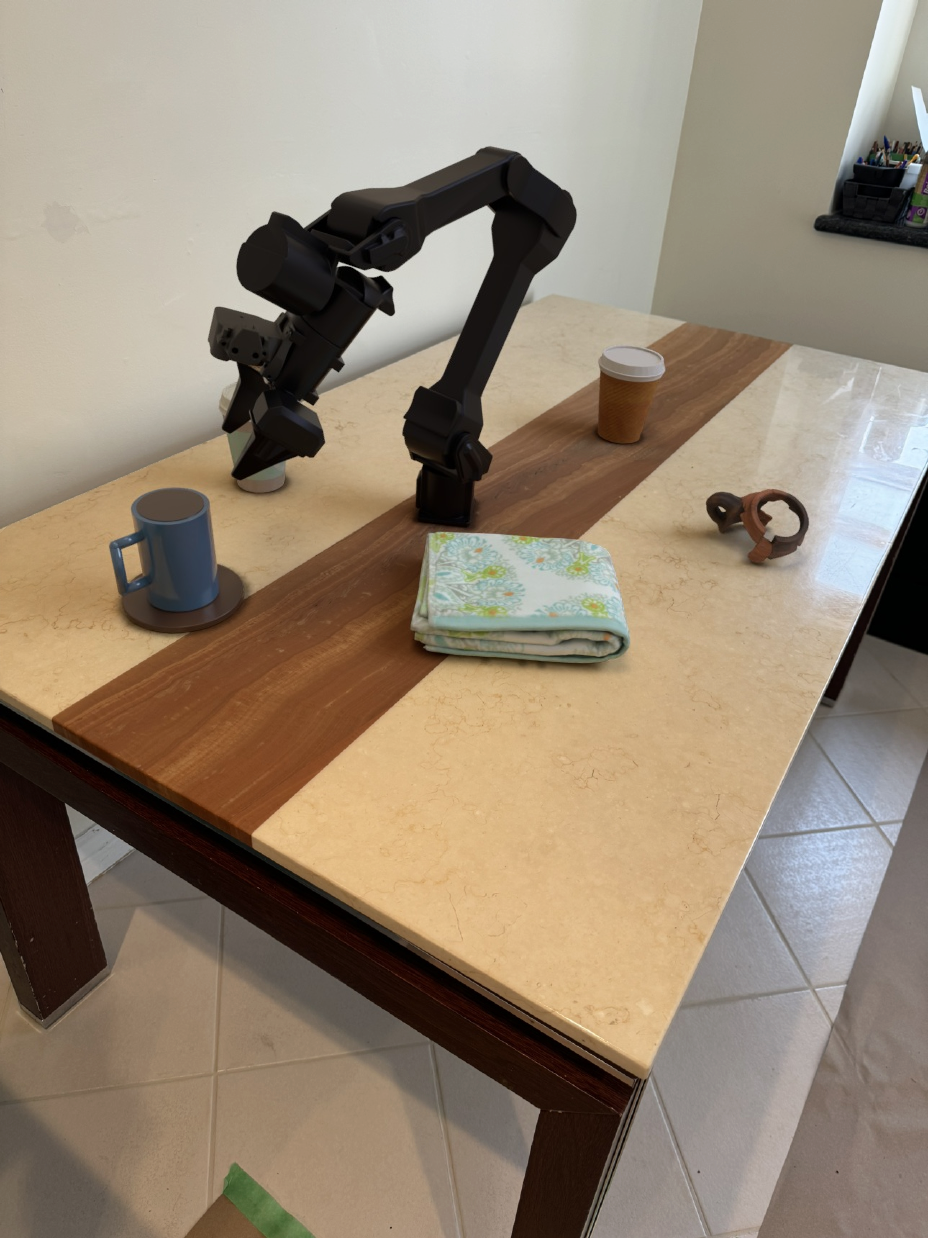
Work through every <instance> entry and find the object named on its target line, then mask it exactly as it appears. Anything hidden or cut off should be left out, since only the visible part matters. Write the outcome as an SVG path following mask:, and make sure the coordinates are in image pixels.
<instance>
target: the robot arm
mask: <svg viewBox="0 0 928 1238" xmlns="http://www.w3.org/2000/svg"><path fill="white" fill-rule="evenodd" d="M572 196H573V195H571V193H570V192H569V191H568V190H566V189H563V188H561V186H559V184H557V183H556V182H554V181H553V180H551V179H550V178H548V177H547V176H546V175H545V174H543V173H542V172H540V171H539V170H537V168H535V167H534V166H533V165H532V164H531V162H530V161H529V160H528V159H527V157H525V156H523V154H522V153H520V152H518V151H515V150H510V149H507V148H506V149H505V148H501V147H497V146H493V145H492V146H491V145H488V146H485V147H480V148H479V149H478V150H477V151H476V152H475V153H474V154H472V155H470V156H469V157H466V158H463V159H461V160H459V161H457V162H454V163H453V164H450V165H448V166H445V167H442V168H440V169H439V170H437V171H434V172H431V173H429V174H427V175H424V176H423V177H420V178H418V179H416V180H413V181H411V182H409V183H406V184H404V185H401V186H396V187H368V188H362V189H356V190H350V191H349V190H348V191H345V192H342V193H340V194H339V195H337V196H335V198H334V199H333V200H332V201H331V203H330V208H329V209H328V210H327V211H325V212H324V213H323V214H321V215H320V216H318V217H317V218H316V219H314V220H313V221H311V222H310V223H309V224H307V225H306V226H305V227H303V225H302V224H300V222H299V221H297V220H296V219H295V218H294V217H292V216H291V215H288V214H285V213H282V212H278V211H276V210H275V211H271V214H270V215H269V219H268V222H267V223H265V224H263V225H261V226H259V227H258V228H256V229H255V230H253V231H252V232H251V234H250V235H249V236H248V237H247V239H246V240H245V241H244V242H242V243H241V245H240V248H239V250H238V253H237V257H236V263H235V268H236V276H237V280H238V282H239V283H240V285H241V287H243V288H244V290H245V291H248V292H250V293H251V294H254V295H256V296H257V297H258V298H259V297H260V298H261V299H263V300H265V301H267V302H269V303H271V304H273V305H274V306H276V307H278V308H280V309H282V310H284V311H285V312H284V311H281V313H279V315H278V316H277V317H276V319H275V320H274V321H272V320H269V319H266V318H263V317H261V316H258V315H255V314H252V313H249V312H248V313H247V312H244V311H240V310H237V309H232V308H229V307H224V306H215V307H214V309H213V314H212V318H211V323H210V328H209V332H208V337H207V343H208V345H209V353H210V355H211V356H212V357H213V358H214V359H217V360H218V361H222V362H229V361H231V362H235V363H236V366H237V371H238V378H237V381H236V382H237V384H236V387H235V390H234V393H233V396H232V399H231V402H230V404H229V407H228V410H227V413H226V415H225V418H224V420H223V421H222V423H221V430H222V431H224V432H225V433H226V432H227V433H229V434H231V433H233V432H234V431H236V430H237V429H239V428H240V427H242V426H243V425H244V424H246V423H247V422H248V421H250V420H251V422H252V427H253V431H252V433H251V435H250V437H249V439H248V441H247V443H246V445H245V446H244V448H243V450H242V452H241V454H240V456H239V458H238V459H237V461H236V463H235V466H234V465H233V468H232V470H231V472H230V476H231V477H232V478H233V479H235V480H236V481H237V480H243V479H245V478H247V477H250V476H252V475H254V474H256V473H258V472H261V471H263V470H265V469H267V468H269V467H272V466H274V465H276V464H278V463H281V462H284V461H286V462H287V461H288V460H292V459H294V458H297V457H299V458H302V459H304V458H306V457H307V458H309V459H314V458H315V457H316V456H317V454H318V453H319V452H320V450H321V449H322V448H323V447H324V445H325V444H326V439H325V433H324V429H323V426H322V423H321V421H320V418H319V416H318V412H316V411H314V410H313V409H311V408H310V407H308V406H306V405H304V404H303V403H302V402H301V401H302V400H303V401H305V402H306V403H308V404H309V405H311V406H312V407H314V406H315V405H316V403H317V402H318V401H319V400H320V396H319V394H318V390H317V389H318V388H319V386H320V385H321V384H322V382H324V380H325V379H326V377H327V376H328V375H329V373H330V372H331V371H332V369H333V370H334V371H335V372H337V373H340V372H341V371H342V370H343V368H344V367H345V365H346V364H345V361H344V359H343V355H344V354H345V352H346V351H347V350H348V348H349V347H350V346H351V344H352V343H353V342H354V340H355V339H356V338H357V336H358V335H359V333H361V331H362V330H363V328H364V327H365V326H366V324H367V323H368V322H369V320H370V319H371V318H372V317H373V316H374V314H375V313H376V311H377V310H378V311H380V312H382V313H384V314H385V315H387V316H389V317H393V316H394V315H395V314H396V310H395V309H396V307H395V306H396V305H395V302H394V291H395V289H394V286H393V285H392V284H391V283H390V282H389V281H388V280H387V279H386V278H385V276H384V275H377V276H367V275H366V274H364V273H362V272H361V271H359V270H362V271H368V270H372V269H373V270H376V271H379V272H383V273H390V272H395V271H396V270H398V269H399V268H401V267H402V266H403V265H405V264H406V263H407V262H408V261H409V260H411V259H412V258H414V257H415V256H416V255H417V254H419V253H420V251H421V250H422V248H423V245H424V244H425V240H426V239H427V238H428V237H429V236H430V235H431V234H433V232H436V231H438V230H440V229H441V228H444V227H446V226H448V225H450V224H452V223H454V222H456V221H458V220H461V219H462V218H464V217H466V216H468V215H470V214H472V213H474V212H477V211H478V210H481V209H483V208H485V207H487V208H488V209H489V210H490V211H491V212H492V213H493V214H494V215H493V219H492V222H491V226H490V231H491V232H490V233H491V242H492V243H491V244H492V252H493V253H492V254H493V255H492V258H491V261H490V263H489V266H488V268H487V271H486V273H485V275H484V278H483V280H482V282H481V284H480V287H479V289H478V291H477V294H476V296H475V298H474V301H473V303H472V306H471V308H470V310H469V312H468V315H467V317H466V320H465V321H464V324H463V326H462V329H461V331H460V333H459V336H458V338H457V340H456V343H455V345H454V347H453V350H452V352H451V355H450V357H449V359H448V361H447V364H446V366H445V369H444V371H443V373H442V375H441V377H440V379H438V380H437V381H436V382H435V383H433V384H432V385H431V386H430V387H426V386H423V385H419V386H418V387H417V388H416V390H415V391H414V394H413V397H412V400H411V402H410V405H409V407H408V409H407V411H406V412H405V413H404V415H403V416H402V418H403V419H404V420H405V421H404V423H403V426H402V431H401V432H402V433H401V435H402V437H403V439H404V444H405V447H406V448H407V451H408V454H409V456H410V460H412V461H414V462H418V463H420V464H421V465H422V466H421V469H420V470H419V471H418V474H417V476H416V480H415V483H416V484H415V503H414V504H415V505H414V507H415V509H417V510H418V511H417V514H416V520H417V521H419V522H427V523H436V524H444V525H452V526H461V527H470V526H471V522H472V518H473V514H474V509H475V505H476V498H474V497H475V486H476V482H480V481H482V479H483V476H484V475H486V474H488V473H489V470H490V468H491V464H492V460H493V457H494V456H493V454H492V453H491V452H490V450H488V449H487V448H486V446H485V445H483V443H481V441H480V437H481V434H482V431H483V428H484V414H483V404H482V396H483V393H484V391H485V389H486V386H487V384H488V382H489V381H490V378H491V376H492V373H493V370H494V368H495V367H496V364H497V361H498V360H499V357H500V355H501V352H502V350H503V348H504V345H505V343H506V341H507V338H508V336H509V334H510V332H511V330H512V327H513V325H514V323H515V321H516V318H517V316H518V313H519V311H520V309H521V306H522V304H523V302H524V300H525V297H526V295H527V293H528V291H529V289H530V286H531V284H532V282H533V280H534V278H535V276H536V275H538V274H539V273H540V272H541V271H543V270H544V269H545V268H546V267H547V266H549V265H550V264H551V263H553V262H554V261H555V260H556V259H557V258H558V257H559V255H560V253H561V252H562V250H563V248H564V247H565V245H566V243H567V241H568V239H569V238H570V236H571V234H572V233H573V231H574V229H575V227H576V224H577V219H578V213H577V207H576V206H575V203H574V199H573V197H572ZM339 264H343V265H339ZM338 265H339V266H338ZM358 269H359V270H358ZM227 433H226V434H227Z"/></svg>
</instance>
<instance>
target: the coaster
mask: <svg viewBox="0 0 928 1238" xmlns="http://www.w3.org/2000/svg"><path fill="white" fill-rule="evenodd" d="M217 569H218V577H219V586H220V590H219V594H218V595H217V597H216V598H215V599H214V600H213V601H212V602H210V603H209V604H207V605H205V606H203V607H201V608H198V609H195V610H190V611H183V612H173V611H166V610H162V609H159V608H157V607H155V606H153V605H152V604H151V603H150V602H149V601H148V599H147V596H146V591H145V587H144V588H142V589H139V590H137V591H135V592H132V593H130V594H128V595H125V596H122V595H121V607H122V609H123V613H124V614H125V616H126V617H127V618H128V619H129V620H130V621H131V622H132V623H134V624H136V625H138V626H139V627H141V628H143V629H146V630H150V631H154V632H160V633H169V634H175V633H177V634H179V633H189V632H195V631H200V630H204V629H207V628H210V627H213V626H215V625H218V624H220V623H222V622H224V621H225V620H227V619H229V618H230V617H231V616H233V615H234V614H235V613H236V612H237V611H238V610H239V608H240V607H241V606H242V604H243V601H244V599H245V598H244V597H245V585H244V583H243V580H242V578H241V577H240V576H239V575H238V573H236V572H235V571H233V570H232V569H230V568H228V567H227V566H224V565H221V564H219V563H217ZM141 577H143V574H142V572H140V573H139V574H138V575H136V576H134V577H133V578H132V579H131V580H130V581H129V582H131V581H134V580H136V579H138V578H141Z"/></svg>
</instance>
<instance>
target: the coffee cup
mask: <svg viewBox="0 0 928 1238" xmlns="http://www.w3.org/2000/svg"><path fill="white" fill-rule="evenodd" d="M236 384H237V381H236V382H232V383H230V384H228V385H226V386H225V387H224V388H223V389H222V391H221V395H220V399H219V400H218V410H219V412H220V413H221V415H222V419H223V421H224V418H225V415H226V413H227V410H228V407H229V404H230V402H231V399H232V396H233V393H234V390H235V387H236ZM252 431H253V427H252V422H251V420H250V421H248V422H247V423H246V424H244V425H243V426H242V427H240V428H239V429H237V430H236V431H234V432H233V433H231V434H229V433H227V432H225V434H226V437H227V443H228V446H229V450H230V455H231V460H232V466H233V467H234V466H235V463H236V461H237V459H238V458H239V456H240V454H241V452H242V450H243V448H244V446H245V445H246V443H247V441H248V439H249V437H250V435H251V433H252ZM286 464H287V460H286V461H284V462H281V463H278V464H276V465H274V466H272V467H269V468H267V469H265V470H263V471H261V472H258V473H256V474H254V475H252V476H250V477H247V478H245V479H243V480H237V479H236V482H237V485H238V486H239V488H241V489H242V490H244V491H245V492H246V491H247V492H250V493H259V494H261V493H271V492H274V491H276V490H279V489H280V488H281V487H283V486H284V485H285V478H286V467H287V465H286Z"/></svg>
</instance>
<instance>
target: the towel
mask: <svg viewBox="0 0 928 1238" xmlns="http://www.w3.org/2000/svg"><path fill="white" fill-rule="evenodd" d="M425 539H426V542H425V547H424V555H423V557H422V563H421V568H420V575H419V584H418V591H417V596H416V600H415V605H414V607H413V612H412V615H411V622H410V631H413V632H414V639H413V640H415V641H418V642H420V643H421V644H424V646H423V649H425V650H426V651H427V652H433V653H441V654H448V655H457V656H470V657H472V656H473V657H485V658H486V657H487V658H505V659H517V660H527V661H528V660H529V661H541V662H553V663H555V662H556V663H567V664H568V663H569V664H570V663H572V664H590V663H592V664H593V663H602V662H607V661H610V660H614V659H618V658H621V657H622V656H623V655H625V654H626V652H627V651H628V650H629V648H630V646H631V637H630V628H629V625H628V620H627V616H626V612H625V608H624V607H625V606H624V603H623V600H622V593H621V589H620V584H619V581H618V578H617V573H616V568H615V564H614V562H613V558H612V556H611V554H610V552H609V550H608V549H607V548H605V547H604V546H601V545H600V544H595V543H591V542H589V541H587V540H583V539H582V540H581V539H573V538H564V537H561V538H559V537H537V536H528V535H527V536H523V535H514V534H502V533H501V534H500V533H483V532H481V533H478V532H477V533H476V532H453V531H436V532H428V533H427V535H426V538H425Z"/></svg>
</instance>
